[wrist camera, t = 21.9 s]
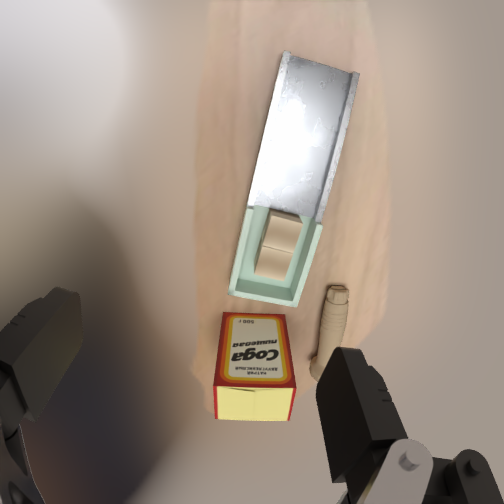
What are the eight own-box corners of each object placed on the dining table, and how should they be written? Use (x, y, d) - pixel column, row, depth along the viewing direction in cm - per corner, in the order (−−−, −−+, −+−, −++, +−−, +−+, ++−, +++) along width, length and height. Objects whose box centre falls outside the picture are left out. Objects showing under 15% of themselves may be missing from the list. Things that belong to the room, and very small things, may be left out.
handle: (361, 297, 41) (342, 382, 45) (348, 281, 47) (333, 360, 51) (328, 297, 41) (313, 383, 45) (318, 280, 47) (307, 361, 51)
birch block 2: (261, 235, 42) (262, 246, 39) (289, 242, 43) (293, 253, 39) (253, 261, 44) (254, 274, 40) (281, 268, 44) (283, 281, 40)
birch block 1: (269, 207, 41) (271, 215, 37) (298, 215, 41) (303, 223, 37) (261, 234, 42) (262, 245, 39) (289, 242, 43) (293, 253, 39)
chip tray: (247, 200, 41) (246, 208, 37) (316, 216, 42) (323, 225, 38) (229, 280, 45) (227, 294, 41) (293, 293, 46) (296, 307, 42)
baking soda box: (284, 314, 47) (296, 390, 33) (280, 346, 50) (289, 422, 35) (223, 312, 47) (212, 388, 32) (223, 344, 50) (214, 420, 35)
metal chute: (282, 55, 33) (284, 50, 31) (353, 76, 34) (359, 73, 32) (247, 200, 41) (247, 205, 38) (316, 216, 42) (320, 222, 39)
